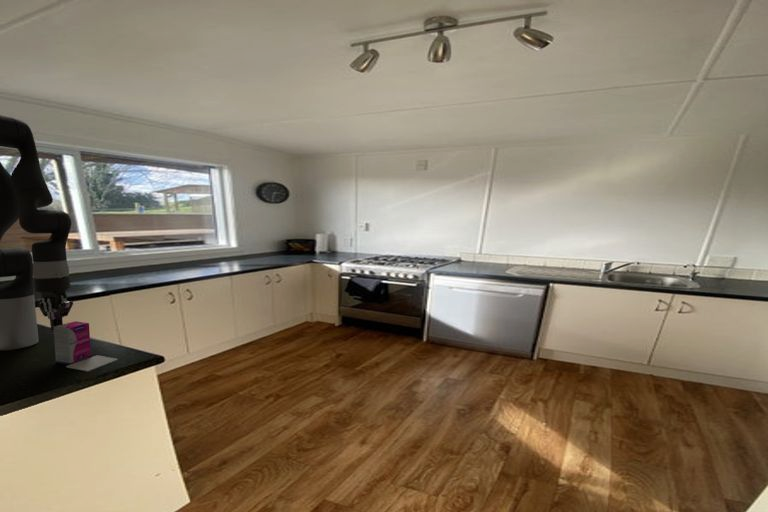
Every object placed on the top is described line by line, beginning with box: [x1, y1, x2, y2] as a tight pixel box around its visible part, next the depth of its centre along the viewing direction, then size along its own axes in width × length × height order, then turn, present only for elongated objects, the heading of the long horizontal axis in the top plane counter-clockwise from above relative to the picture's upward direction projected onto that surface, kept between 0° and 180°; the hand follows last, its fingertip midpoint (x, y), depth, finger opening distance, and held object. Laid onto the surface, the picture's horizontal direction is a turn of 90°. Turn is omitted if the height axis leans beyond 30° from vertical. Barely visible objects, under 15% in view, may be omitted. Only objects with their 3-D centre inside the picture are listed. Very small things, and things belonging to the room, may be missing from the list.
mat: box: [65, 355, 119, 373], centre depth 93 cm, size 9×8×1 cm
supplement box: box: [53, 321, 92, 366], centre depth 95 cm, size 6×6×12 cm
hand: (57, 329), depth 96 cm, fingers closed
